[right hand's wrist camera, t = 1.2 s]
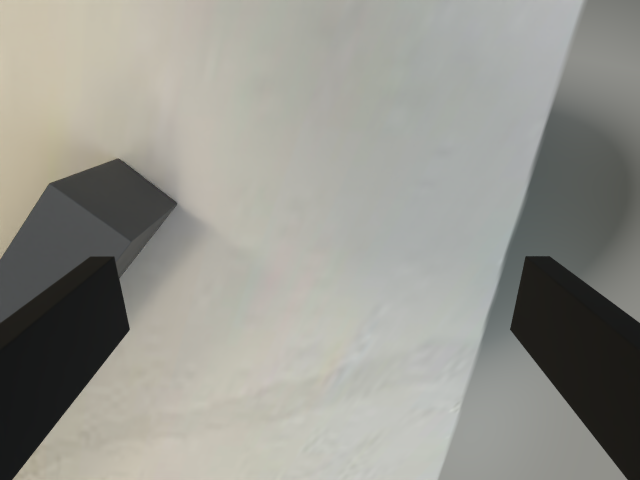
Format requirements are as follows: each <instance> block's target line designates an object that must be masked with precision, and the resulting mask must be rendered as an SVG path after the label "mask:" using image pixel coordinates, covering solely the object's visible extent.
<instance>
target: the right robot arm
mask: <svg viewBox="0 0 640 480" xmlns="http://www.w3.org/2000/svg"><path fill="white" fill-rule="evenodd" d="M129 330H130V328H129V323H128V319H127V314H126V309H125V305H124V300H123V295H122V290H121V286H120V281H119V276H118V271H117V267H116V262H115V257H114V256H90V257H89V258H88V259H86V260H85V261H83V262H82V263H81V264H79V265H78V266H77V267H75V268H74V269H73V270H71V271H70V272H69V273H67V274H66V275H65V276H63V277H62V278H61V279H59V280H58V281H56V282H55V283H54V284H52V285H51V286H50V287H48V288H47V289H46V290H44V291H43V292H42V293H40V294H39V295H38V296H36V297H35V298H33V299H32V300H31V301H29V302H28V303H27V304H25V305H24V306H23V307H21V308H20V309H19V310H17V311H16V312H15V313H13V314H12V315H10V316H9V317H8V318H6V319H5V320H4V321H2V322H1V323H0V480H12V479H13V478H14V477H15V476H16V474H17V473H18V472H19V470H20V469H21V468H22V467H23V465H24V464H25V463H26V461H27V460H28V459H29V458H30V456H31V455H32V454H33V453H34V451H35V450H36V449H37V447H38V446H39V445H40V444H41V442H42V441H43V440H44V438H45V437H46V436H47V435H48V433H49V432H50V431H51V430H52V428H53V427H54V426H55V424H56V423H57V422H58V421H59V419H60V418H61V417H62V416H63V414H64V413H65V412H66V410H67V409H68V408H69V407H70V405H71V404H72V403H73V401H74V400H75V399H76V398H77V396H78V395H79V394H80V393H81V391H82V390H83V389H84V387H85V386H86V385H87V384H88V382H89V381H90V380H91V378H92V377H93V376H94V375H95V373H96V372H97V371H98V370H99V368H100V367H101V366H102V364H103V363H104V362H105V361H106V359H107V358H108V357H109V355H110V354H111V353H112V352H113V350H114V349H115V348H116V347H117V345H118V344H119V343H120V341H121V340H122V339H123V338H124V336H125V335H126V334H127V332H128V331H129ZM510 330H511V331H512V332H513V334H514V335H515V336H516V338H517V339H518V340H519V341H520V343H521V344H522V345H523V347H524V348H525V349H526V350H527V352H528V353H529V354H530V355H531V357H532V358H533V359H534V361H535V362H536V363H537V364H538V366H539V367H540V368H541V370H542V371H543V372H544V373H545V375H546V376H547V377H548V378H549V380H550V381H551V382H552V384H553V385H554V386H555V387H556V389H557V390H558V391H559V392H560V394H561V395H562V396H563V398H564V399H565V400H566V401H567V403H568V404H569V405H570V407H571V408H572V409H573V410H574V412H575V413H576V414H577V416H578V417H579V418H580V419H581V421H582V422H583V423H584V424H585V426H586V427H587V428H588V430H589V431H590V432H591V433H592V435H593V436H594V437H595V439H596V440H597V441H598V442H599V444H600V445H601V446H602V447H603V449H604V450H605V451H606V453H607V454H608V455H609V456H610V458H611V459H612V460H613V461H614V463H615V464H616V465H617V467H618V468H619V469H620V470H621V472H622V473H623V474H624V475H625V477H626V478H627V479H628V480H640V323H639V322H638V321H636V320H635V319H634V318H632V317H631V316H629V315H628V314H627V313H625V312H624V311H623V310H621V309H620V308H619V307H617V306H616V305H615V304H613V303H612V302H611V301H609V300H608V299H607V298H605V297H604V296H602V295H601V294H600V293H598V292H597V291H596V290H594V289H593V288H592V287H590V286H589V285H588V284H586V283H585V282H584V281H582V280H581V279H579V278H578V277H577V276H575V275H574V274H573V273H571V272H570V271H569V270H567V269H566V268H565V267H563V266H562V265H561V264H559V263H558V262H557V261H555V260H554V259H552V258H551V257H550V256H526V257H525V262H524V267H523V271H522V276H521V281H520V286H519V290H518V295H517V300H516V305H515V309H514V314H513V319H512V324H511V328H510Z"/></svg>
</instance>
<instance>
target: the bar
mask: <svg viewBox="0 0 640 480" xmlns="http://www.w3.org/2000/svg"><path fill="white" fill-rule="evenodd" d="M176 205H177V203H176V202H175V201H173V200H172V199H171V198H169V197H168V196H167V195H165V194H164V193H163V192H162V191H160V190H159V189H158V188H156V187H155V186H154V185H152V184H151V183H150V182H148V181H147V180H146V179H144V178H143V177H142V176H141V175H139V174H138V173H137V172H135V171H134V170H133V169H131V168H130V167H129V166H127V165H126V164H125V163H124V162H122V161H121V160H120V159H115V160H113V161H110V162H107V163H104V164H102V165H99V166H96V167H93V168H91V169H88V170H85V171H82V172H80V173H77V174H74V175H71V176H69V177H66V178H63V179H60V180H58V181H55V182H52V183H50V184H49V185H48V186H47V188H46V189H45V191H44V193H43V194H42V196H41V197H40V199H39V200H38V202H37V203H36V205H35V207H34V208H33V210H32V211H31V213H30V214H29V216H28V217H27V219H26V221H25V222H24V224H23V225H22V227H21V228H20V230H19V231H18V233H17V235H16V236H15V238H14V239H13V241H12V242H11V244H10V245H9V247H8V249H7V250H6V252H5V253H4V255H3V256H2V258H1V259H0V323H1V322H2V321H4V320H5V319H6V318H8V317H9V316H10V315H12V314H13V313H15V312H16V311H17V310H19V309H20V308H21V307H23V306H24V305H25V304H27V303H28V302H29V301H31V300H32V299H33V298H35V297H36V296H38V295H39V294H40V293H42V292H43V291H44V290H46V289H47V288H48V287H50V286H51V285H52V284H54V283H55V282H56V281H58V280H59V279H61V278H62V277H63V276H65V275H66V274H67V273H69V272H70V271H71V270H73V269H74V268H75V267H77V266H78V265H79V264H81V263H82V262H83V261H85V260H86V259H88V258H89V257H90V256H114V257H115V262H116V267H117V271H118V276H119V278H120V277H121V275H122V274H123V273H124V272H125V270H126V269H127V268H128V266H129V265H130V264H131V263H132V261H133V260H134V259H135V258H136V256H137V255H138V254H139V252H140V251H141V250H142V249H143V247H144V246H145V245H146V243H147V242H148V241H149V240H150V238H151V237H152V236H153V234H154V233H155V232H156V231H157V229H158V228H159V227H160V226H161V224H162V223H163V222H164V220H165V219H166V218H167V217H168V215H169V214H170V213H171V211H172V210H173V209H174V208H175V206H176Z"/></svg>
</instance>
